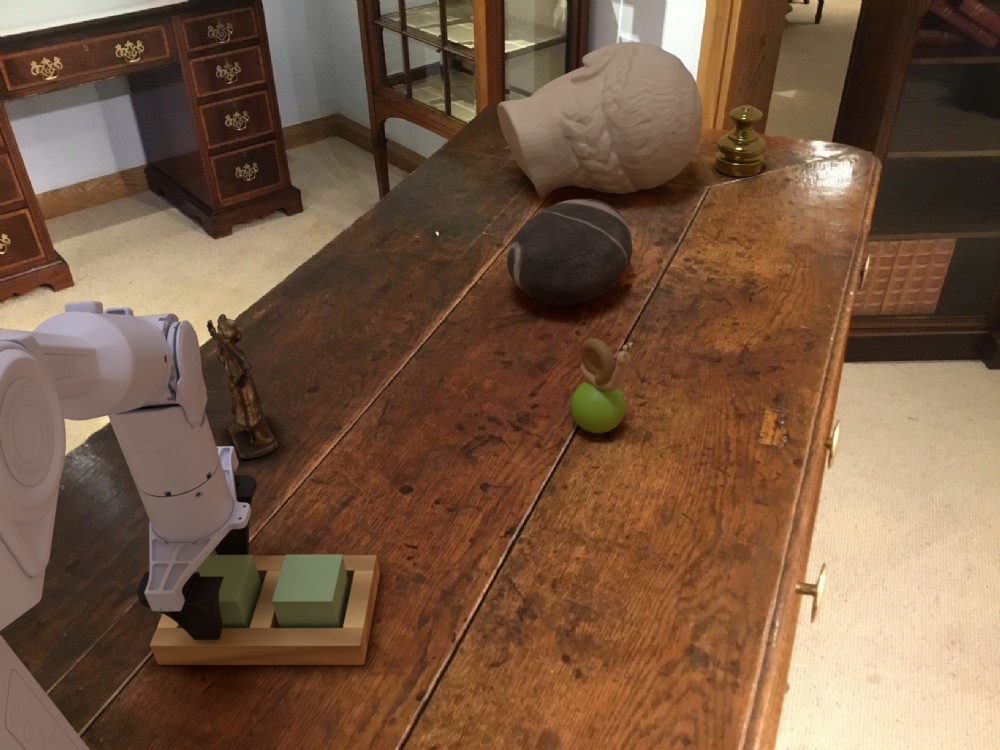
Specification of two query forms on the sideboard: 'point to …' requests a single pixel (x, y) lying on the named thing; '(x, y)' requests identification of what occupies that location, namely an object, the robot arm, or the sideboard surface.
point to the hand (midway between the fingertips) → (222, 594)
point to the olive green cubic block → (234, 587)
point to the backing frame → (276, 643)
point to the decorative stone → (570, 252)
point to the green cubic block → (312, 591)
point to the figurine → (242, 393)
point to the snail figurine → (600, 387)
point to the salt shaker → (741, 145)
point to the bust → (608, 122)
